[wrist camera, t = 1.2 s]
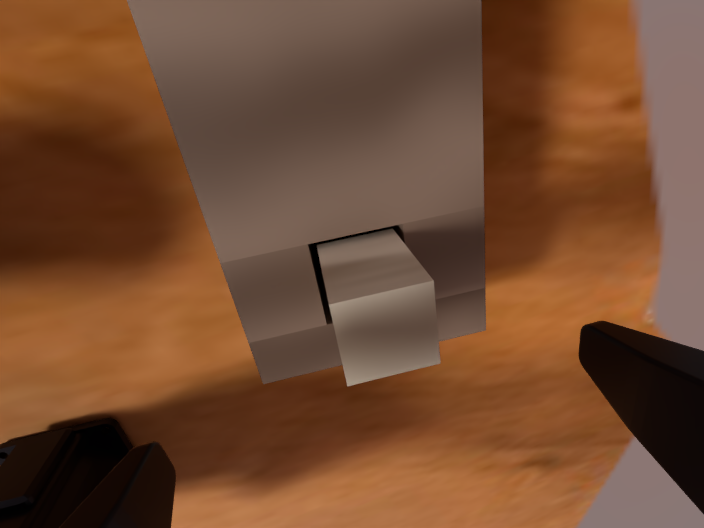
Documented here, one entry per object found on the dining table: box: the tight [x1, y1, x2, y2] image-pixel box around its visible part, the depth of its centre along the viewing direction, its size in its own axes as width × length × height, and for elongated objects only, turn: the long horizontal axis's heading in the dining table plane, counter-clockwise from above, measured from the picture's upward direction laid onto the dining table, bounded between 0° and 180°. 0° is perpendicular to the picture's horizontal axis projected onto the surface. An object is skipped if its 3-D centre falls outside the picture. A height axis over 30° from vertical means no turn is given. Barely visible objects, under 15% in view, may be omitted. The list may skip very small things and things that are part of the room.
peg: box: [317, 229, 440, 386], centre depth 13 cm, size 3×3×4 cm
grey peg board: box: [127, 0, 486, 384], centre depth 14 cm, size 20×10×5 cm, turn 9°
